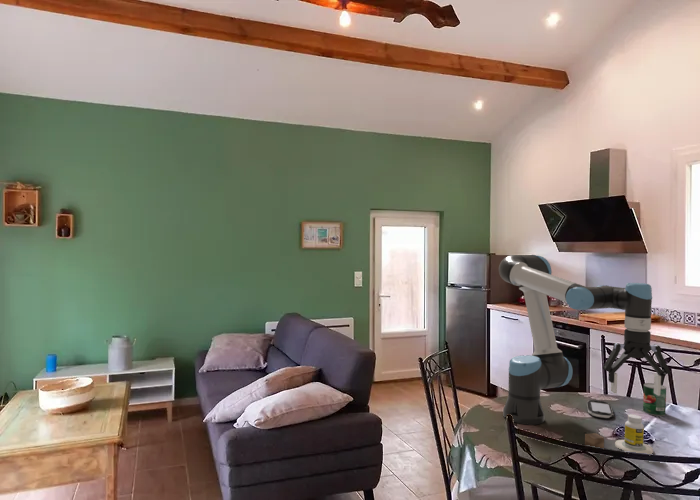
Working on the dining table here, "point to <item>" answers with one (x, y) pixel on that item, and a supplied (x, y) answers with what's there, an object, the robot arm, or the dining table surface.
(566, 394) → the dining table surface
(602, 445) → the walnut block
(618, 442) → the saucer
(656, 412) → the canned tomato
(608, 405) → the gaming console
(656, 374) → the robot arm
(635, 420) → the supplement bottle
